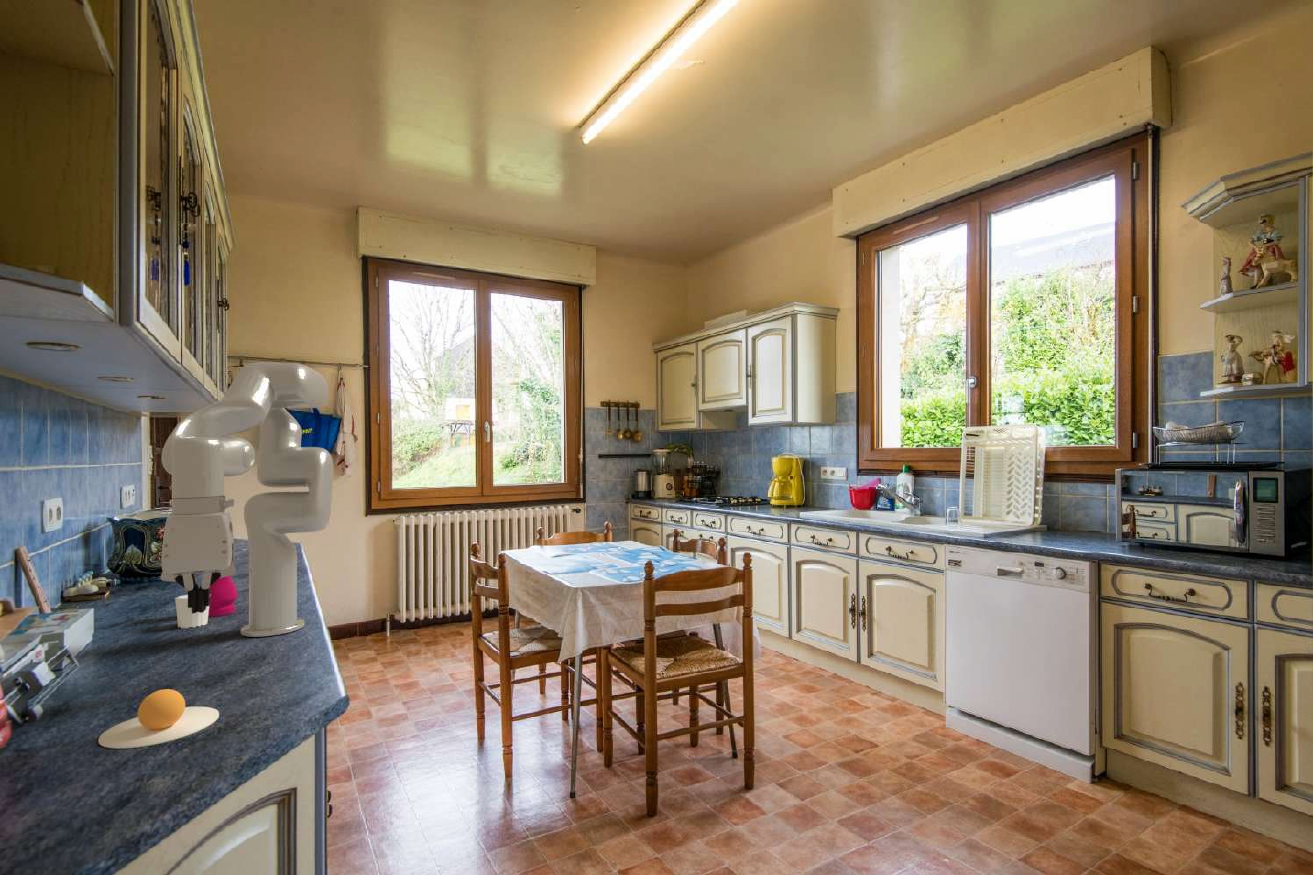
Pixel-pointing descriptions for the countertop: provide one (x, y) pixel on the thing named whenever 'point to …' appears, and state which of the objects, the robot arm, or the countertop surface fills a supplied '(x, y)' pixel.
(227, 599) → the pepper mill
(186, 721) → the disc
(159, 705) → the ball
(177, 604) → the white fluted cup
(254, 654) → the countertop surface
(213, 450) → the robot arm
